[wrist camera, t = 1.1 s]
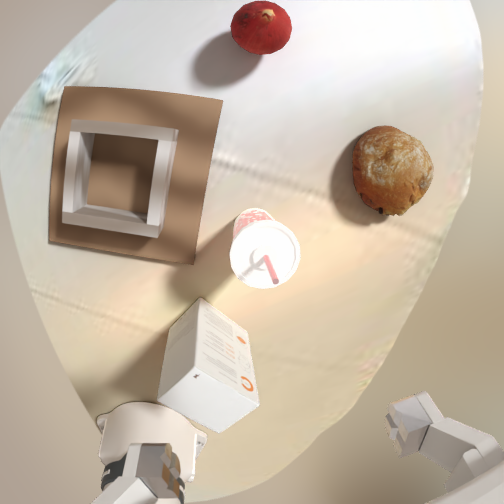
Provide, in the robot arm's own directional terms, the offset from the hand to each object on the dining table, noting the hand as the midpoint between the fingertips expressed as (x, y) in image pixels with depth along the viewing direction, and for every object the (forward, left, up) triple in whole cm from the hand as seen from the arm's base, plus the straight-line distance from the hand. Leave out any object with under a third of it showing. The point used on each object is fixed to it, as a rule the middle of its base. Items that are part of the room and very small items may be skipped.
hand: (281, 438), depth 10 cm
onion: (+21, +2, -28) cm, 35 cm away
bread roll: (+10, -16, -28) cm, 34 cm away
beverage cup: (0, -2, -28) cm, 28 cm away
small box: (-14, +1, -28) cm, 31 cm away
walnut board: (+4, +13, -27) cm, 31 cm away
